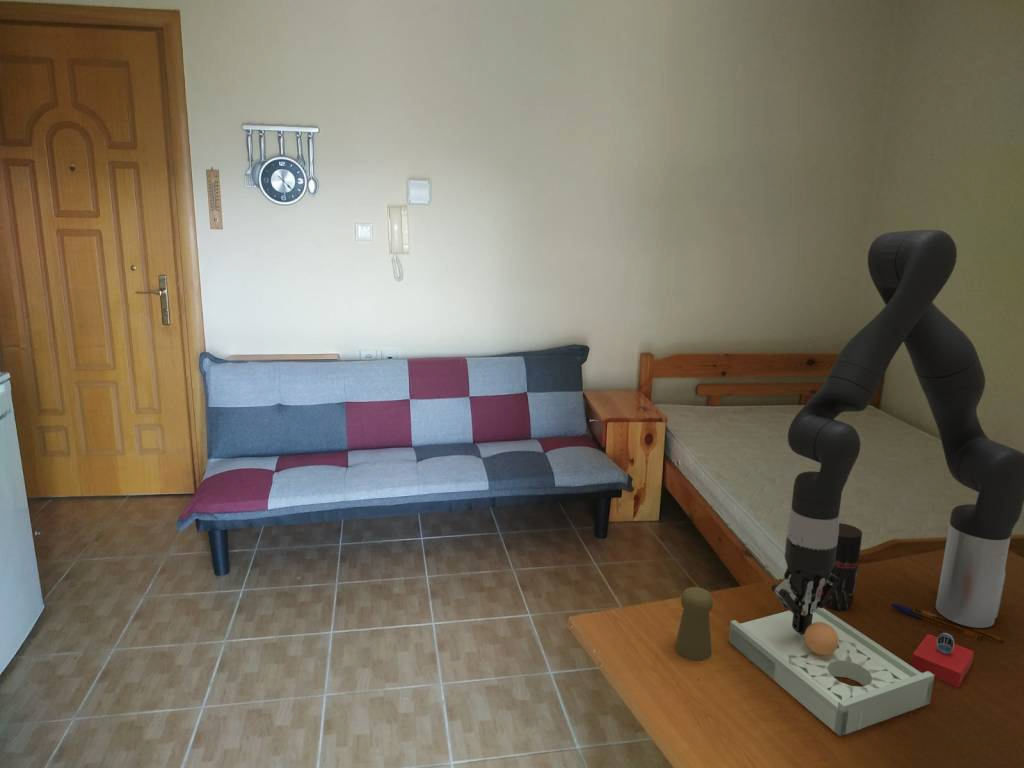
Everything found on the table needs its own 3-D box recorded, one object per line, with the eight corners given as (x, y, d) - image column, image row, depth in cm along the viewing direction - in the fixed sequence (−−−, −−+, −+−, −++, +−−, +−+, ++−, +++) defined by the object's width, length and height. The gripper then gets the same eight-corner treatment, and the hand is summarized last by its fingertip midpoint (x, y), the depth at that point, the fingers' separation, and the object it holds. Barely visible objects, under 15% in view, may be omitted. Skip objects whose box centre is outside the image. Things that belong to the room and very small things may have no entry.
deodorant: (856, 612, 128) (866, 538, 125) (821, 609, 130) (831, 535, 126) (847, 596, 134) (857, 524, 130) (815, 592, 135) (823, 521, 132)
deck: (808, 619, 126) (811, 594, 125) (930, 704, 105) (935, 675, 103) (728, 641, 120) (730, 616, 118) (840, 737, 98) (844, 707, 97)
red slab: (925, 648, 119) (930, 615, 117) (971, 666, 114) (977, 632, 112) (910, 669, 113) (915, 635, 112) (957, 689, 108) (964, 653, 107)
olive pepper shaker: (714, 644, 119) (719, 586, 116) (708, 664, 114) (713, 604, 111) (679, 635, 121) (682, 579, 119) (671, 654, 116) (675, 596, 114)
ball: (819, 616, 115) (842, 622, 110) (825, 646, 114) (848, 653, 110) (795, 623, 113) (816, 629, 109) (801, 654, 113) (823, 662, 108)
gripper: (825, 520, 117) (814, 611, 122) (763, 533, 113) (753, 627, 117) (861, 539, 111) (848, 635, 115) (797, 554, 106) (786, 653, 110)
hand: (800, 631), depth 116 cm, fingers closed
